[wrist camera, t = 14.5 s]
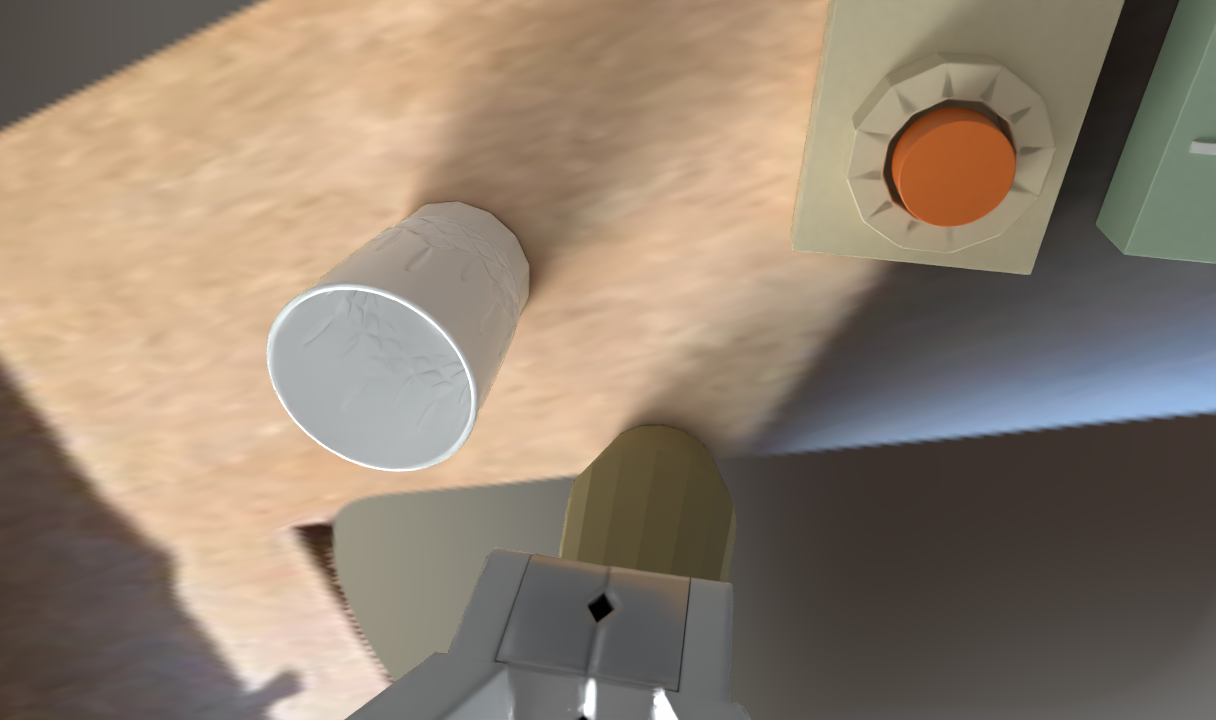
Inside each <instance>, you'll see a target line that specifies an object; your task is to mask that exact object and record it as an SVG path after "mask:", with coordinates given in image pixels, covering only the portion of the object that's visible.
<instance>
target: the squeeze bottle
mask: <svg viewBox="0 0 1216 720" xmlns="http://www.w3.org/2000/svg"><path fill="white" fill-rule="evenodd" d="M736 530H737V529H736V518H735V508H734V502H733V500H732V498H731V496H730V494H729V492H728V490H727V487H726V485H725V483H724V481H723V479H722V477H721V474H720V472H719V470H718V468H717V466H716V464H715V462H714V460H713V458H712V457H711V455H710V454H709V452H708V451H707V449H706V447H705V446H704V445H703V444H702V443H700V442H699V441H698V440H696V439H695V438H694V437H692V436H691V435H689V434H688V433H687V432H684V431H681V430H677V429H674V428H671V427H667V426H664V425H656V426H639V427H636V428H634V429H631V430H629V431H626V432H624V433H621V434H620V435H619V436H618V437H617V438H616V439H615V440H614V441H613V442H612V443H611V444H610V445H609V446H608V447H607V448H606V449H605V450H604V451H603V452H602V453H601V454H600V455H599V456H598V457H597V458H596V459H595V460H594V461H593V462H592V463H591V464H590V465H589V466H588V467H587V468H586V469H585V470H584V471H583V472H582V473H581V474H580V475H579V476H578V477H577V478H576V479H575V480H574V483H573V487H572V490H571V493H570V497H569V500H568V504H567V508H566V514H565V520H564V526H563V532H562V539H561V545H560V550H559V557H558V558H562V559H568V560H573V561H579V562H585V563H590V564H596V565H602V566H607V567H611V566H613V567H621V568H628V569H635V570H642V571H649V572H657V573H664V574H671V575H678V576H685V577H690V580H691V578H698V579H705V580H712V581H719V582H727V577H728V572H729V567H730V561H731V556H732V551H733V546H734V541H735V535H736ZM689 584H690V583H689Z"/></svg>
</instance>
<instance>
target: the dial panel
mask: <svg viewBox="0 0 1216 720" xmlns="http://www.w3.org/2000/svg"><path fill="white" fill-rule="evenodd" d="M1095 225H1096V226H1097V227H1098V228H1099V229H1100V230H1101V231H1102V232H1103V233H1104V234H1105V235H1106V236H1107V237H1108V238H1109V239H1110V240H1111V242H1112V243H1113V244H1114V245H1115V246H1116V247H1117V248H1118V249H1119V250H1120V251H1121V252H1122V253H1123V254H1125V255H1135V256H1145V257H1156V258H1166V259H1176V260H1186V261H1196V262H1206V263H1216V0H1179V3H1178V5H1177V8H1176V11H1175V13H1174V16H1173V19H1172V21H1171V24H1170V27H1169V29H1168V32H1167V35H1166V37H1165V40H1164V43H1163V45H1162V48H1161V51H1160V53H1159V56H1158V58H1157V61H1156V64H1155V66H1154V69H1153V72H1152V74H1151V77H1150V80H1149V82H1148V85H1147V88H1146V90H1145V93H1144V96H1143V98H1142V101H1141V104H1140V106H1139V109H1138V112H1137V114H1136V117H1135V120H1134V122H1133V125H1132V128H1131V130H1130V133H1129V136H1128V138H1127V141H1126V144H1125V146H1124V149H1123V152H1122V154H1121V157H1120V160H1119V162H1118V165H1117V168H1116V170H1115V173H1114V176H1113V178H1112V181H1111V184H1110V186H1109V189H1108V192H1107V194H1106V197H1105V199H1104V202H1103V205H1102V207H1101V210H1100V213H1099V215H1098V218H1097V221H1096V223H1095Z"/></svg>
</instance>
